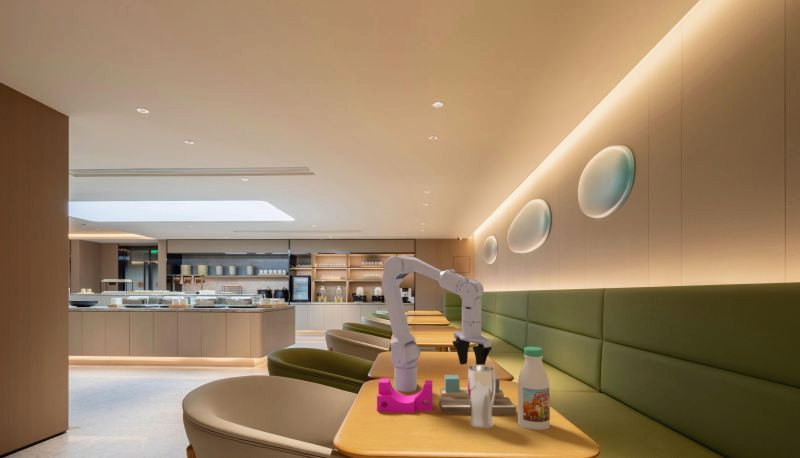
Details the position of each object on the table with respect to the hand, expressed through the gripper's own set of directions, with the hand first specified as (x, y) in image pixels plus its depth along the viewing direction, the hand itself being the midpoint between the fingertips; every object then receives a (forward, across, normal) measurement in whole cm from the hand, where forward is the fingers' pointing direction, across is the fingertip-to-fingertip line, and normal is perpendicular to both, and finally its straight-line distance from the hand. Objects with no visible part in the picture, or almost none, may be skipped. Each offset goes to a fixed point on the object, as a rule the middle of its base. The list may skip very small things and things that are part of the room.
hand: (471, 367), depth 138 cm
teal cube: (+7, -3, -5) cm, 9 cm away
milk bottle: (+10, +24, 0) cm, 26 cm away
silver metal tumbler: (+10, +17, -12) cm, 23 cm away
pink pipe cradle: (+10, -4, -21) cm, 24 cm away
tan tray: (+10, 0, 0) cm, 10 cm away
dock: (+10, +7, -4) cm, 12 cm away
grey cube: (+7, +3, +5) cm, 9 cm away
